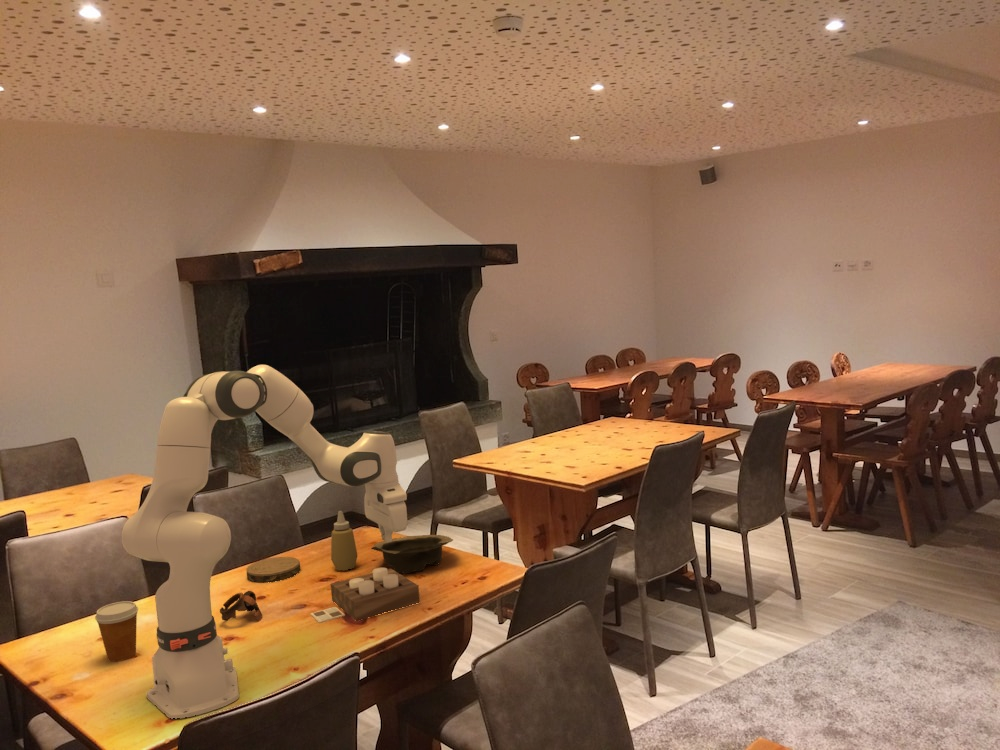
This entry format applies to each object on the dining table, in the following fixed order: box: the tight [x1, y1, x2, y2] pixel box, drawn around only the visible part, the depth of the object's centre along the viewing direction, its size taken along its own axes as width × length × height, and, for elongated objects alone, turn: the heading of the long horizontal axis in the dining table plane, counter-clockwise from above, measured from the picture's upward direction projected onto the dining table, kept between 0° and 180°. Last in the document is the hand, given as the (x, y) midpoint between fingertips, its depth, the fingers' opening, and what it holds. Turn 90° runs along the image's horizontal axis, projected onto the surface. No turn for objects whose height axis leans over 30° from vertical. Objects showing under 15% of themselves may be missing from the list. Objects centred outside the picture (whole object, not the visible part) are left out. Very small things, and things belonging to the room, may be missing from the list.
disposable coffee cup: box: [94, 600, 139, 662], centre depth 198 cm, size 10×10×12 cm
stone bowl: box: [370, 534, 454, 574], centre depth 251 cm, size 25×25×9 cm
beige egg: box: [372, 567, 388, 583], centre depth 226 cm, size 4×4×5 cm
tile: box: [310, 606, 346, 624], centre depth 215 cm, size 7×7×1 cm
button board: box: [330, 568, 421, 622], centre depth 222 cm, size 18×18×5 cm
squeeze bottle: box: [330, 510, 358, 571], centre depth 251 cm, size 8×8×18 cm
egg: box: [349, 577, 364, 589], centre depth 223 cm, size 4×4×5 cm
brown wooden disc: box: [245, 556, 301, 584], centre depth 252 cm, size 16×16×3 cm
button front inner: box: [358, 580, 375, 596], centre depth 217 cm, size 4×4×5 cm
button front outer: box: [383, 574, 399, 590], centre depth 220 cm, size 4×4×5 cm
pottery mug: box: [219, 590, 263, 622], centre depth 217 cm, size 12×10×8 cm
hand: (387, 540), depth 219 cm, fingers closed
